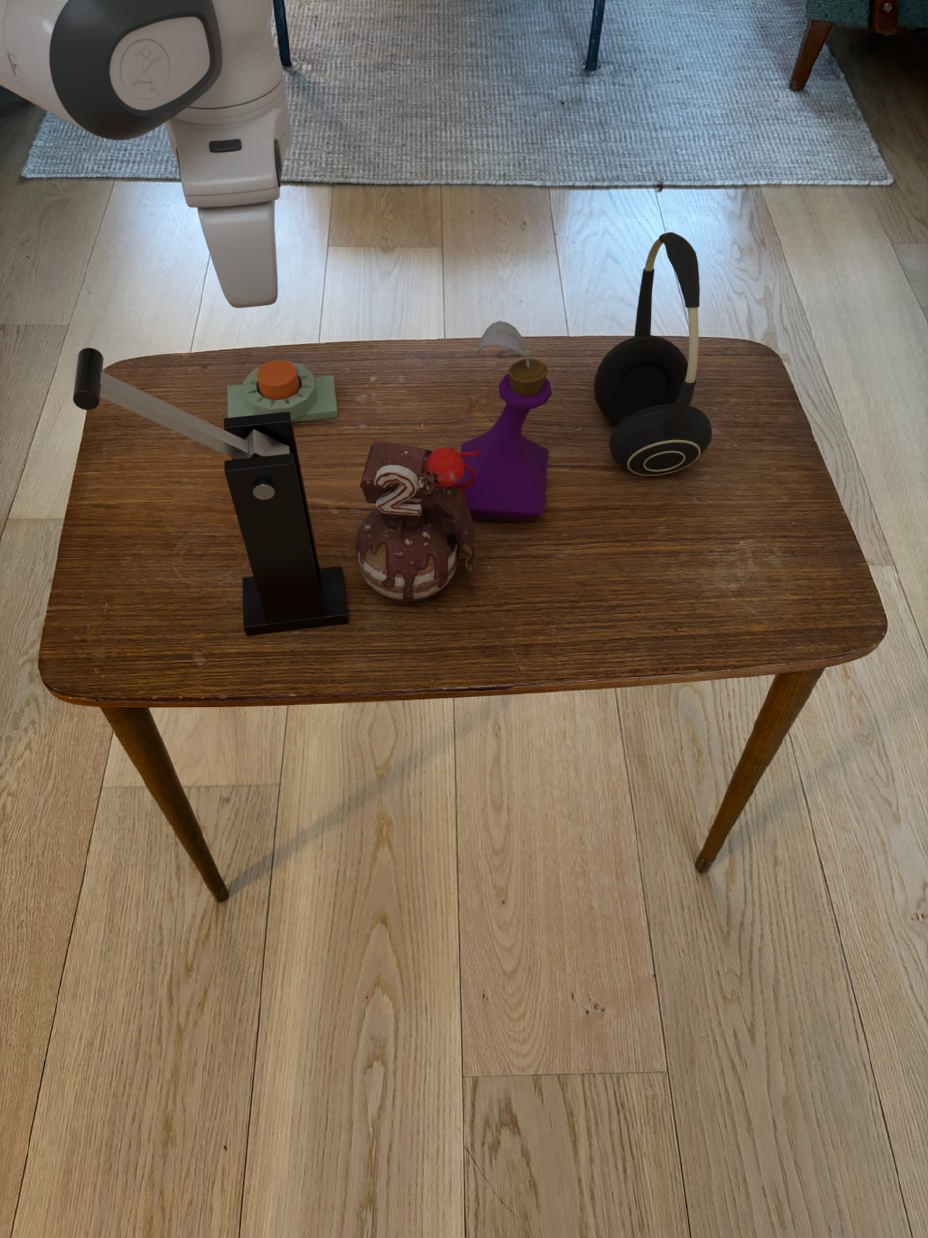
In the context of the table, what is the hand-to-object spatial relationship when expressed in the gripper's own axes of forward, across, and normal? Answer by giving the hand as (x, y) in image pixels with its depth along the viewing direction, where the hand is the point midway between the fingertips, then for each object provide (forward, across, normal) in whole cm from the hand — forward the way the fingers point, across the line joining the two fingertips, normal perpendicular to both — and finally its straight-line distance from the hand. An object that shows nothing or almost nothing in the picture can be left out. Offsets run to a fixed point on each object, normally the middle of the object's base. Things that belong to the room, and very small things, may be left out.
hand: (261, 285), depth 82 cm
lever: (-6, +24, -5) cm, 25 cm away
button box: (+13, 0, 0) cm, 13 cm away
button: (+11, 0, 0) cm, 11 cm away
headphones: (+13, +10, +32) cm, 36 cm away
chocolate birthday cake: (+13, +23, +10) cm, 28 cm away
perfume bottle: (+13, +16, +18) cm, 27 cm away
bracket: (+13, +24, 0) cm, 27 cm away
